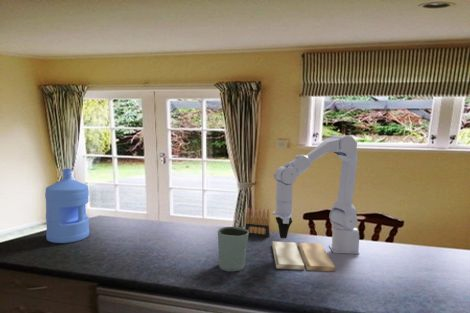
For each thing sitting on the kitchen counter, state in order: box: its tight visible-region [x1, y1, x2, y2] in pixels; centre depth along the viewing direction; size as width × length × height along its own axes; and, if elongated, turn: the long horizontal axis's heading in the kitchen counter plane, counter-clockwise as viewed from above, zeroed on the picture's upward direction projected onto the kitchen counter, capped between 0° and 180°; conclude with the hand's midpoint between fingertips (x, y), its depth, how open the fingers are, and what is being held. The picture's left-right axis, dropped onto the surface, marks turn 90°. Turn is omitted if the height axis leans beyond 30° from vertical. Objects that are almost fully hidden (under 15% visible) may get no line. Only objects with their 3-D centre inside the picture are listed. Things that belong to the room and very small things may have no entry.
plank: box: [271, 240, 305, 271], centre depth 120 cm, size 9×22×2 cm, turn 177°
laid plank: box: [297, 242, 336, 272], centre depth 120 cm, size 9×22×2 cm, turn 177°
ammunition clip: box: [244, 207, 271, 238], centre depth 143 cm, size 11×2×12 cm, turn 75°
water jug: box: [44, 168, 90, 244], centre depth 135 cm, size 16×16×28 cm
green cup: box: [217, 226, 249, 272], centre depth 111 cm, size 10×10×12 cm
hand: (283, 237), depth 120 cm, fingers closed
